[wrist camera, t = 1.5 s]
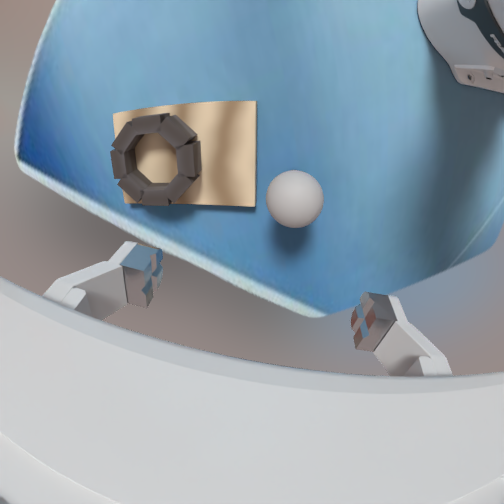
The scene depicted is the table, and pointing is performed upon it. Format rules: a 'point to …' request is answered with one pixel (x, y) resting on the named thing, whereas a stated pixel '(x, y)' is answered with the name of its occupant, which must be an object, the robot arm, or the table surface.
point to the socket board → (216, 148)
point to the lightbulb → (294, 199)
